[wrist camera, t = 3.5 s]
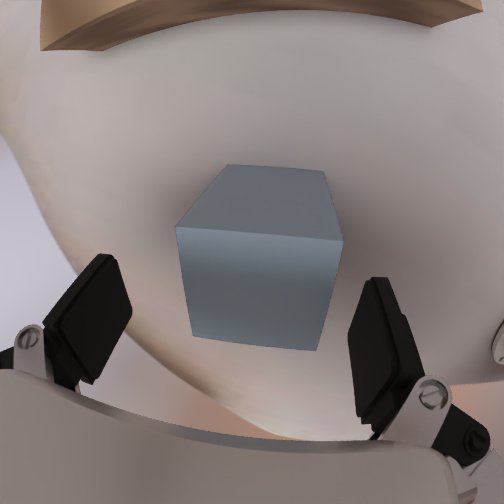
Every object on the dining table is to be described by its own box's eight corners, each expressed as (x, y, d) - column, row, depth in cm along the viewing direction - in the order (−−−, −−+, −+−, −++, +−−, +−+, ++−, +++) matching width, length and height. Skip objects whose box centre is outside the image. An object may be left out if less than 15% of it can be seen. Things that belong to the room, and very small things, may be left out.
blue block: (323, 171, 15) (343, 241, 9) (312, 252, 18) (316, 350, 11) (227, 164, 16) (175, 226, 9) (229, 244, 19) (193, 336, 12)
